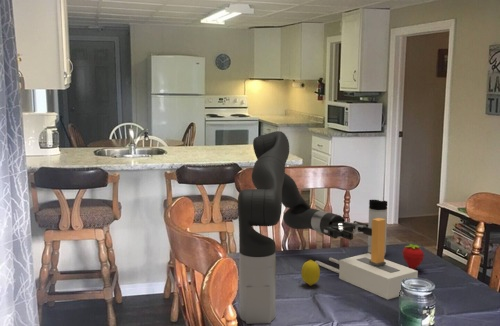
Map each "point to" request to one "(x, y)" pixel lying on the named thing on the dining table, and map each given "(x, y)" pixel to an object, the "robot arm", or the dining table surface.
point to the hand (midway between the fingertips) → (362, 234)
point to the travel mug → (377, 211)
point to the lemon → (310, 272)
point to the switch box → (375, 275)
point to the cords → (328, 265)
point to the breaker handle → (378, 242)
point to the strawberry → (413, 255)
